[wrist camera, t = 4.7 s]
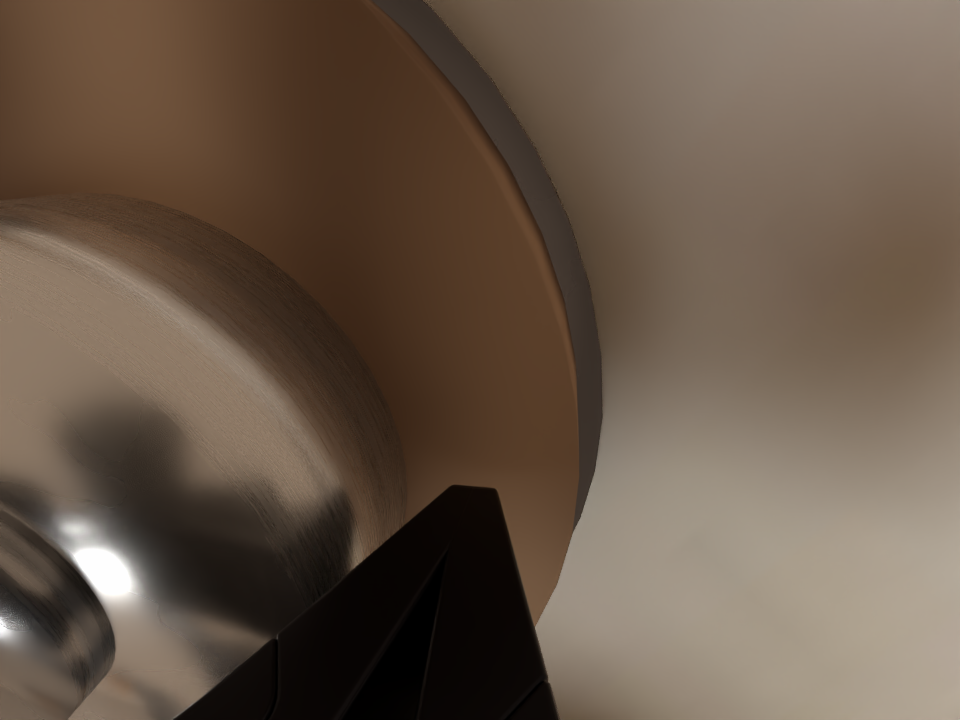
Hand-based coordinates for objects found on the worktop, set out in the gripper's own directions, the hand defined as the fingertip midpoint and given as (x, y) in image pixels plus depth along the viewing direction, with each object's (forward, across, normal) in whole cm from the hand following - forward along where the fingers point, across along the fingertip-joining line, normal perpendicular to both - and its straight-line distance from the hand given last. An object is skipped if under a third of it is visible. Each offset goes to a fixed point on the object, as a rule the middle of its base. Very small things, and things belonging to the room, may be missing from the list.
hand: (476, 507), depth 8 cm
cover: (+1, +6, 0) cm, 7 cm away
